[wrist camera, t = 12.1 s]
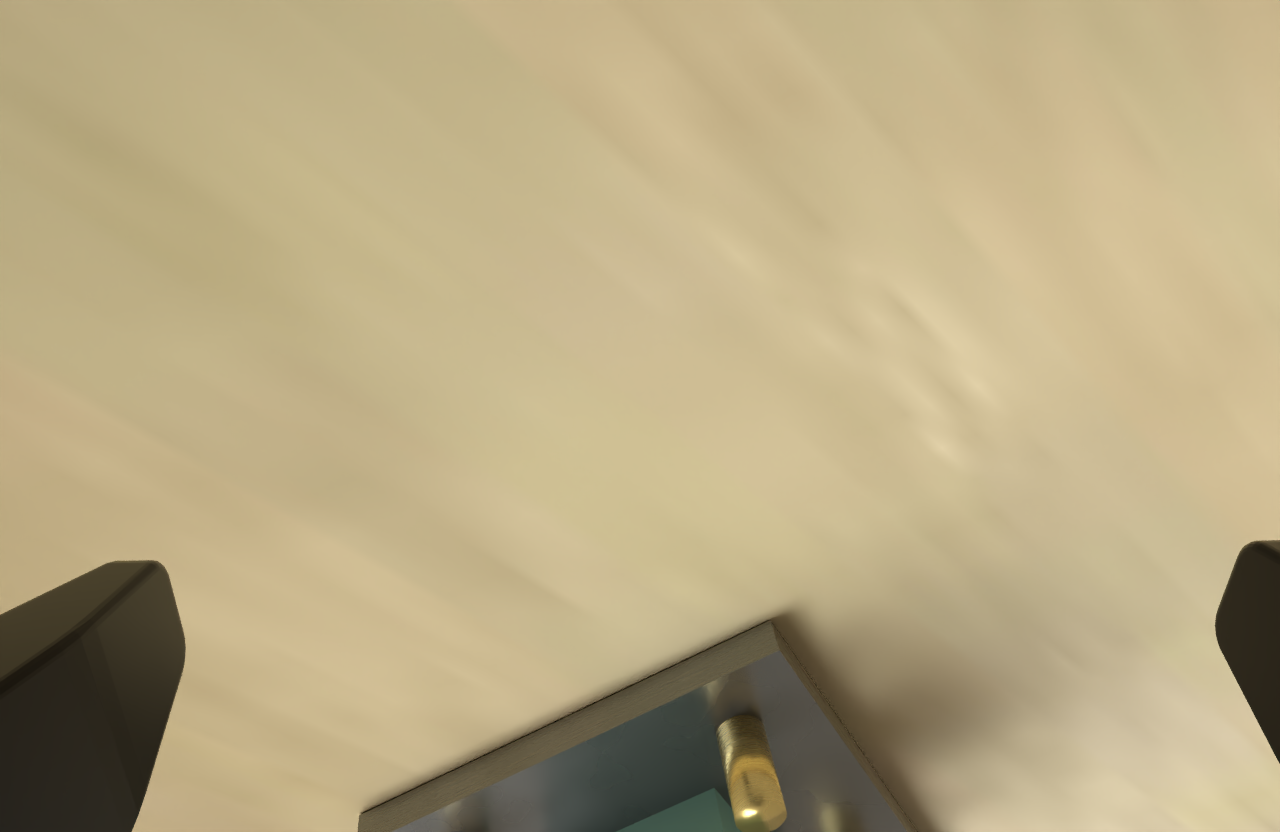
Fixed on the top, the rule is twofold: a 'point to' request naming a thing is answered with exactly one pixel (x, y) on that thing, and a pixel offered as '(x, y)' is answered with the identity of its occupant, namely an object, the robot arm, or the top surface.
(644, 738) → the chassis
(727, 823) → the tea tin
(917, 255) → the top surface
